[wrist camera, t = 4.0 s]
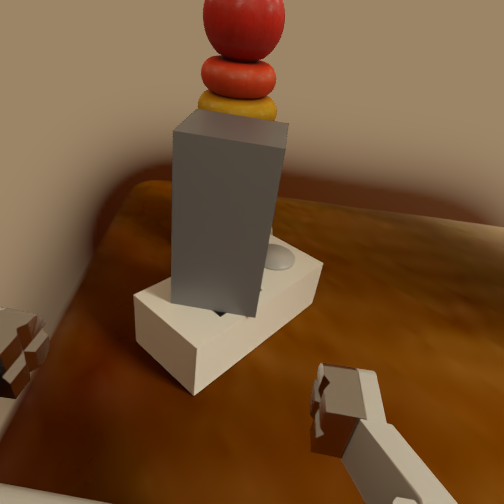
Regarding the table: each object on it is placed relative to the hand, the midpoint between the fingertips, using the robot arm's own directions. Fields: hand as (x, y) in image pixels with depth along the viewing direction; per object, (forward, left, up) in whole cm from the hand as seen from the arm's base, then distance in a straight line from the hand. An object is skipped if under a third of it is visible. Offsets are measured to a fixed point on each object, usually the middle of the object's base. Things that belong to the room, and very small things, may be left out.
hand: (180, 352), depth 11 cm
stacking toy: (-9, -18, -9) cm, 22 cm away
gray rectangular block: (-5, -8, -7) cm, 12 cm away
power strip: (-6, -9, -8) cm, 13 cm away
